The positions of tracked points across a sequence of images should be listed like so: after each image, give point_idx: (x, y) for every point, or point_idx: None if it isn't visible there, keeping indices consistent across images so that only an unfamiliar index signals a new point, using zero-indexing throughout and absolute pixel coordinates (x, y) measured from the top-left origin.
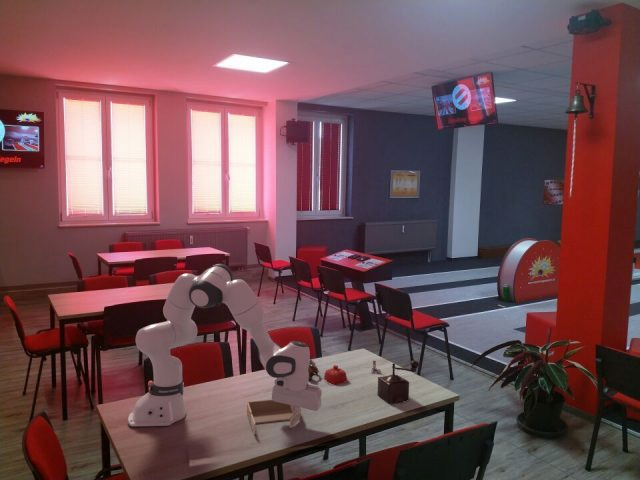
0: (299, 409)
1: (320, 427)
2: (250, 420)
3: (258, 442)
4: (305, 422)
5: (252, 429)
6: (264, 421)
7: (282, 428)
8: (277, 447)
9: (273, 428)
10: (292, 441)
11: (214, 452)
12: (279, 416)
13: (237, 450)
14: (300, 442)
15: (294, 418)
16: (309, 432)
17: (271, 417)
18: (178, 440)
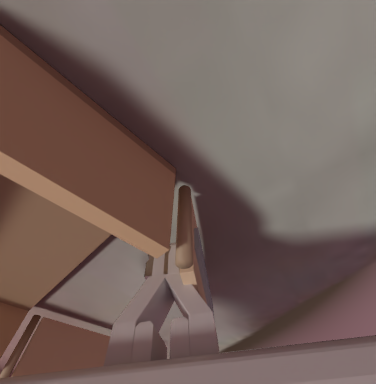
0: (195, 277)
1: (366, 194)
2: (26, 334)
3: None
4: (239, 187)
5: (87, 333)
6: (51, 288)
7: None
8: (228, 339)
9: (130, 292)
10: (257, 315)
11: None
12: (47, 226)
13: None
14: (288, 310)
15: (211, 305)
16: (304, 258)
17: (28, 253)
18: (10, 376)
